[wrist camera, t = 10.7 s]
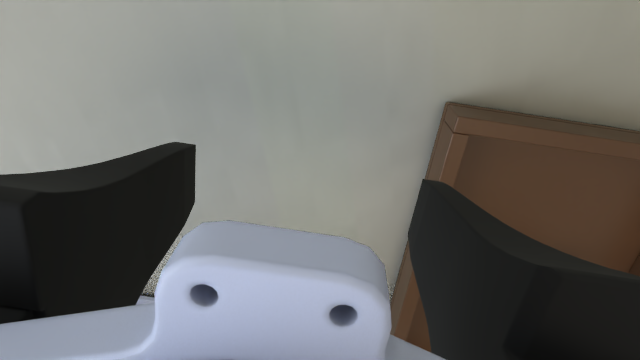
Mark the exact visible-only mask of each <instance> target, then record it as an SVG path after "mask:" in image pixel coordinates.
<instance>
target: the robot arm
mask: <svg viewBox="0 0 640 360" xmlns="http://www.w3.org/2000/svg"><path fill="white" fill-rule="evenodd" d="M195 154H196V145H193V144H186V143H180V142H172V143H167V144H163V145H160V146H156V147H153V148H150V149H147V150H143V151H140V152H137V153H134V154H131V155H127V156H124V157H120V158H116V159H113V160H109V161H105V162H102V163H97V164H93V165H88V166H83V167H77V168H71V169H65V170H56V171H47V172H37V173H27V174H8V175H0V360H640V276H637V275H633V274H629V273H626V272H622V271H618V270H614V269H611V268H607V267H604V266H601V265H598V264H595V263H592V262H589V261H586V260H583V259H580V258H577V257H575V256H572V255H569V254H567V253H564V252H562V251H559V250H557V249H555V248H552V247H550V246H548V245H545V244H543V243H541V242H539V241H537V240H534V239H532V238H530V237H529V236H527V235H525V234H523V233H521V232H519V231H517V230H515V229H513V228H512V227H510V226H508V225H506V224H505V223H503V222H502V221H500V220H499V219H497V218H495V217H494V216H492V215H491V214H489V213H488V212H486V211H485V210H483V209H482V208H480V207H479V206H478V205H476V204H475V203H473V202H472V201H471V200H469V199H468V198H466V197H465V196H464V195H462V194H461V193H460V192H458V191H457V190H455V189H454V188H452V187H451V186H449V185H448V184H446V183H444V182H440V181H433V180H427V179H423V180H422V184H421V188H420V191H419V195H418V199H417V202H416V206H415V210H414V213H413V217H412V221H411V224H410V228H409V232H408V240H409V251H410V259H411V263H412V267H413V271H414V275H415V279H416V282H417V286H418V290H419V294H420V297H421V301H422V305H423V308H424V312H425V316H426V321H427V325H428V332H429V339H430V346H431V352H428V351H426V350H424V349H422V348H419V347H417V346H415V345H413V344H411V343H408V342H406V341H404V340H402V339H400V338H397V337H395V336H393V335H391V334H390V332H391V328H392V324H391V309H390V300H389V293H388V286H387V279H386V272H385V265H384V264H383V263H382V262H381V260H380V259H379V258H378V257H377V256H376V254H375V253H374V252H373V251H372V249H371V248H370V247H368V246H366V245H363V244H360V243H358V242H355V241H353V240H350V239H348V238H345V237H339V236H332V235H325V234H319V233H312V232H305V231H298V230H291V229H285V228H278V227H271V226H264V225H257V224H251V223H244V222H237V221H230V220H228V221H216V222H204V223H201V224H200V225H199V226H197V227H196V228H194V229H193V230H191V231H190V232H188V233H187V234H185V235H184V236H183V237H182V239H181V241H180V242H179V244H178V246H177V247H176V249H175V250H174V252H173V254H172V255H171V257H170V259H169V260H168V262H167V263H166V265H165V267H164V268H163V270H162V272H161V275H160V278H159V281H158V284H157V287H156V290H155V293H154V296H155V298H154V297H147V296H140V295H141V293H142V291H143V289H144V287H145V285H146V284H147V282H148V280H149V279H150V277H151V275H152V274H153V272H154V271H155V269H156V268H157V266H158V265H159V263H160V262H161V260H162V259H163V257H164V256H165V254H166V253H167V251H168V250H169V248H170V247H171V245H172V244H173V242H174V241H175V239H176V238H177V236H178V235H179V233H180V232H181V230H182V228H183V227H184V225H185V223H186V221H187V219H188V217H189V214H190V212H191V210H192V207H193V205H194V203H195Z"/></svg>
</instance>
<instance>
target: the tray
mask: <svg viewBox="0 0 640 360" xmlns="http://www.w3.org/2000/svg"><path fill="white" fill-rule="evenodd" d="M425 179H427V180H433V181H440V182H444V183H446V184H448V185H449V186H451V187H452V188H454V189H455V190H457V191H458V192H460V193H461V194H462V195H464V196H465V197H466V198H468V199H469V200H471V201H472V202H473V203H475V204H476V205H478V206H479V207H480V208H482V209H483V210H485V211H486V212H488V213H489V214H491V215H492V216H494V217H495V218H497V219H499V220H500V221H502V222H503V223H505V224H506V225H508V226H510V227H512V228H513V229H515V230H517V231H519V232H521V233H523V234H525V235H527V236H529V237H530V238H532V239H534V240H537V241H539V242H541V243H543V244H545V245H548V246H550V247H552V248H555V249H557V250H559V251H562V252H564V253H567V254H569V255H572V256H575V257H577V258H580V259H583V260H586V261H589V262H592V263H595V264H598V265H601V266H604V267H607V268H611V269H614V270H618V271H622V272H626V273H629V274H633V275H637V276H640V131H634V130H627V129H621V128H614V127H608V126H601V125H595V124H588V123H582V122H575V121H568V120H562V119H555V118H549V117H542V116H536V115H529V114H523V113H516V112H510V111H503V110H497V109H490V108H483V107H477V106H470V105H464V104H457V103H451V102H446V104H445V107H444V111H443V115H442V118H441V122H440V126H439V129H438V133H437V136H436V140H435V144H434V147H433V151H432V155H431V158H430V162H429V165H428V169H427V173H426V176H425ZM390 309H391V324H392V328H391V332H390V334H391V335H393V336H395V337H397V338H400V339H402V340H404V341H406V342H408V343H411V344H413V345H415V346H417V347H419V348H422V349H424V350H426V351H428V352H431V346H430V339H429V332H428V325H427V321H426V316H425V312H424V308H423V305H422V301H421V297H420V294H419V290H418V286H417V282H416V279H415V275H414V271H413V267H412V263H411V259H410V251H409V240H408V242H407V245H406V249H405V253H404V256H403V260H402V264H401V267H400V271H399V274H398V278H397V282H396V285H395V289H394V293H393V296H392V300H391V303H390Z"/></svg>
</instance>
